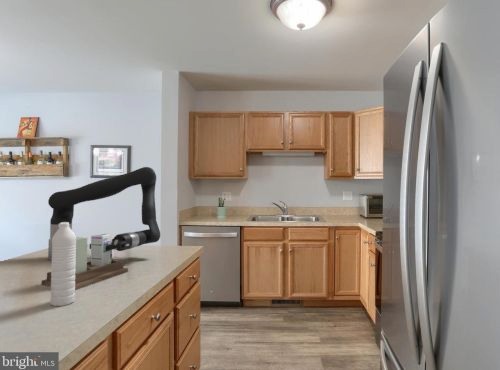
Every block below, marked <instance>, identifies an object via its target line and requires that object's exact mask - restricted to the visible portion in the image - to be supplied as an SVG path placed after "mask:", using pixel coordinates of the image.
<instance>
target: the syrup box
mask: <svg viewBox="0 0 500 370" xmlns="http://www.w3.org/2000/svg"><path fill="white" fill-rule="evenodd" d="M112 239H113V235H112V233H99V234H95V235H94V234H93V235H90V244H91V249H90V261H91V265H94V266H104V265H108V264H111V263H112V260H113V253H112V252H113V250H109V251H106V250H105V247H106V245H110V244H112Z"/></svg>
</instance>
